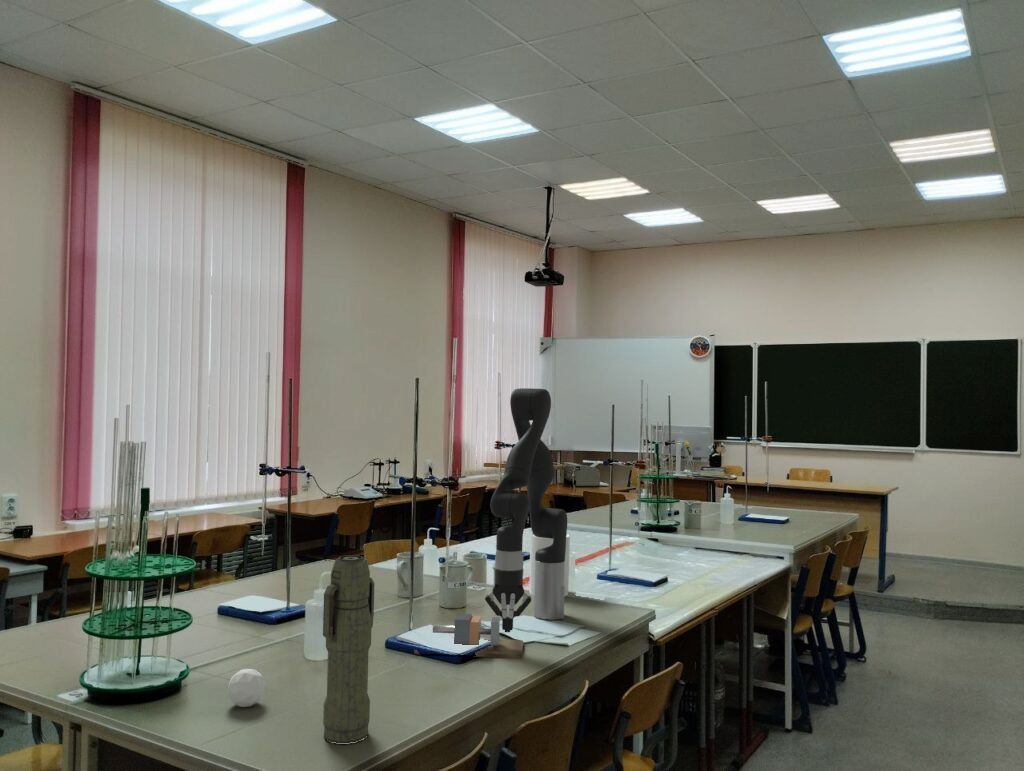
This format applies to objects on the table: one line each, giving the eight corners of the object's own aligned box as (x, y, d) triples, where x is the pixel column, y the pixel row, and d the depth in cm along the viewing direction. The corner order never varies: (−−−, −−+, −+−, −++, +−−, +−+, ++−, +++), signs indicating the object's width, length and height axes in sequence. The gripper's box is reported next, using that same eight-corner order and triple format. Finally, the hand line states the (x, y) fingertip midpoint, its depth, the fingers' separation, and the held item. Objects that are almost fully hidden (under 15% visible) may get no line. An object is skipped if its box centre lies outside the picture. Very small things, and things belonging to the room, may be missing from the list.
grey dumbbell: (499, 639, 217) (499, 617, 217) (498, 645, 212) (498, 622, 212) (434, 637, 217) (434, 615, 217) (431, 642, 212) (432, 620, 212)
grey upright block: (471, 641, 217) (471, 614, 218) (469, 648, 211) (469, 620, 212) (456, 641, 218) (457, 613, 218) (453, 648, 212) (454, 619, 212)
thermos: (307, 741, 155) (312, 559, 156) (348, 720, 166) (353, 550, 166) (342, 752, 151) (347, 565, 152) (382, 730, 161) (387, 555, 162)
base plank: (523, 644, 220) (523, 640, 220) (521, 658, 208) (521, 654, 208) (421, 640, 221) (421, 636, 221) (414, 654, 209) (414, 650, 209)
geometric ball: (255, 718, 172) (273, 692, 170) (219, 711, 168) (237, 685, 166) (254, 689, 179) (271, 665, 177) (220, 682, 175) (237, 657, 173)
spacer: (480, 638, 217) (480, 616, 217) (478, 645, 211) (478, 622, 211) (471, 638, 217) (472, 615, 217) (469, 644, 211) (469, 622, 211)
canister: (543, 586, 288) (544, 530, 288) (575, 592, 280) (576, 534, 280) (521, 593, 277) (523, 535, 277) (554, 599, 269) (556, 539, 269)
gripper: (483, 568, 211) (481, 634, 210) (533, 570, 210) (532, 636, 210) (485, 562, 218) (483, 626, 218) (533, 564, 218) (532, 628, 217)
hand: (507, 631), depth 214 cm, fingers closed
